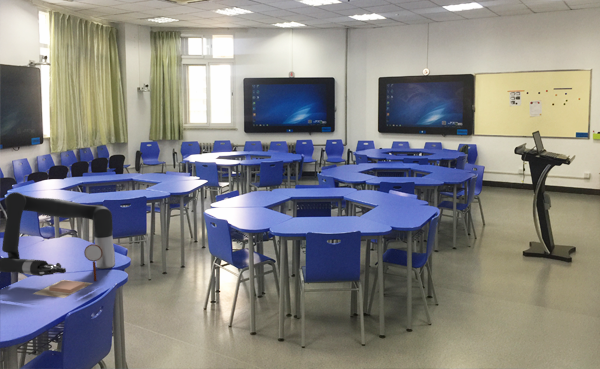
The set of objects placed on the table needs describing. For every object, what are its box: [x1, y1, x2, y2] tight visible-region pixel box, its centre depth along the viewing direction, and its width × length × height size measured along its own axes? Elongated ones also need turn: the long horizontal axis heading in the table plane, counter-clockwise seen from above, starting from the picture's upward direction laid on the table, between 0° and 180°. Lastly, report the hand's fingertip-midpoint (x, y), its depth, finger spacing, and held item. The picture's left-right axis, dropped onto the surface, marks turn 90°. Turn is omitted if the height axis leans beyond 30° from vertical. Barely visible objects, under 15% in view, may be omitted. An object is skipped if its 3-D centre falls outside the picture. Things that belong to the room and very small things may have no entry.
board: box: [32, 279, 94, 299], centre depth 252 cm, size 20×18×1 cm
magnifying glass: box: [83, 243, 102, 282], centre depth 260 cm, size 9×2×20 cm, turn 95°
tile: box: [49, 279, 86, 295], centre depth 251 cm, size 10×2×12 cm
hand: (64, 270), depth 250 cm, fingers closed
